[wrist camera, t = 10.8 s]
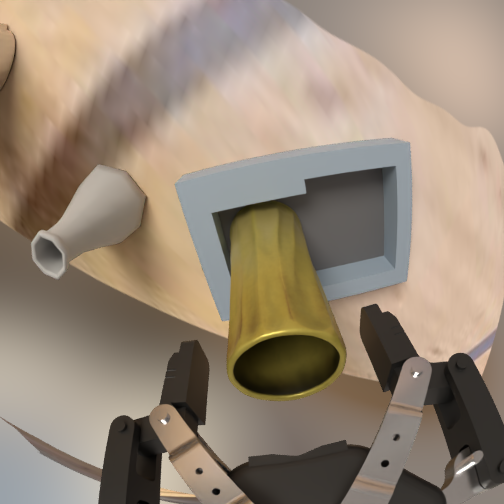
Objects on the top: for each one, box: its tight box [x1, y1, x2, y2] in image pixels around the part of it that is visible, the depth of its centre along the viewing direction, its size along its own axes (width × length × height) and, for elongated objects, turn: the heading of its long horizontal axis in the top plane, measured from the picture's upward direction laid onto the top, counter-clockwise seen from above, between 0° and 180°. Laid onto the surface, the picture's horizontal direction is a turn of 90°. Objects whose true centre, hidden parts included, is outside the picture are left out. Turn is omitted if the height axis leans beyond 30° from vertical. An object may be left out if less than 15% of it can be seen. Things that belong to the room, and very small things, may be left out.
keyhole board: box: [175, 138, 412, 321], centre depth 22 cm, size 13×18×3 cm
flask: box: [31, 164, 146, 280], centre depth 18 cm, size 7×7×10 cm
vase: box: [227, 200, 346, 401], centre depth 17 cm, size 6×6×14 cm
